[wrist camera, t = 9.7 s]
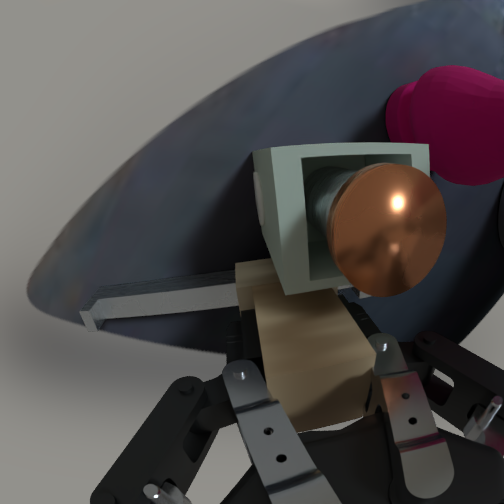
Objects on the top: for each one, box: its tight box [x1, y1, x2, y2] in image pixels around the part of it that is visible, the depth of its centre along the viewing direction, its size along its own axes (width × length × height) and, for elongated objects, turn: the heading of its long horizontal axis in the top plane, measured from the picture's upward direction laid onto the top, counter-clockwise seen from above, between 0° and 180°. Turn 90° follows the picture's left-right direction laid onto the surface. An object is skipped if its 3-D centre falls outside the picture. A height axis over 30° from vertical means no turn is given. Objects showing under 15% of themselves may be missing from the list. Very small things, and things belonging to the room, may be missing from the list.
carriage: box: [235, 258, 376, 433], centre depth 13 cm, size 5×4×10 cm
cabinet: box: [252, 142, 430, 295], centre depth 13 cm, size 6×5×8 cm
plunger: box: [303, 163, 447, 297], centre depth 10 cm, size 4×4×6 cm
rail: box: [79, 269, 371, 331], centre depth 17 cm, size 18×2×4 cm, turn 97°
